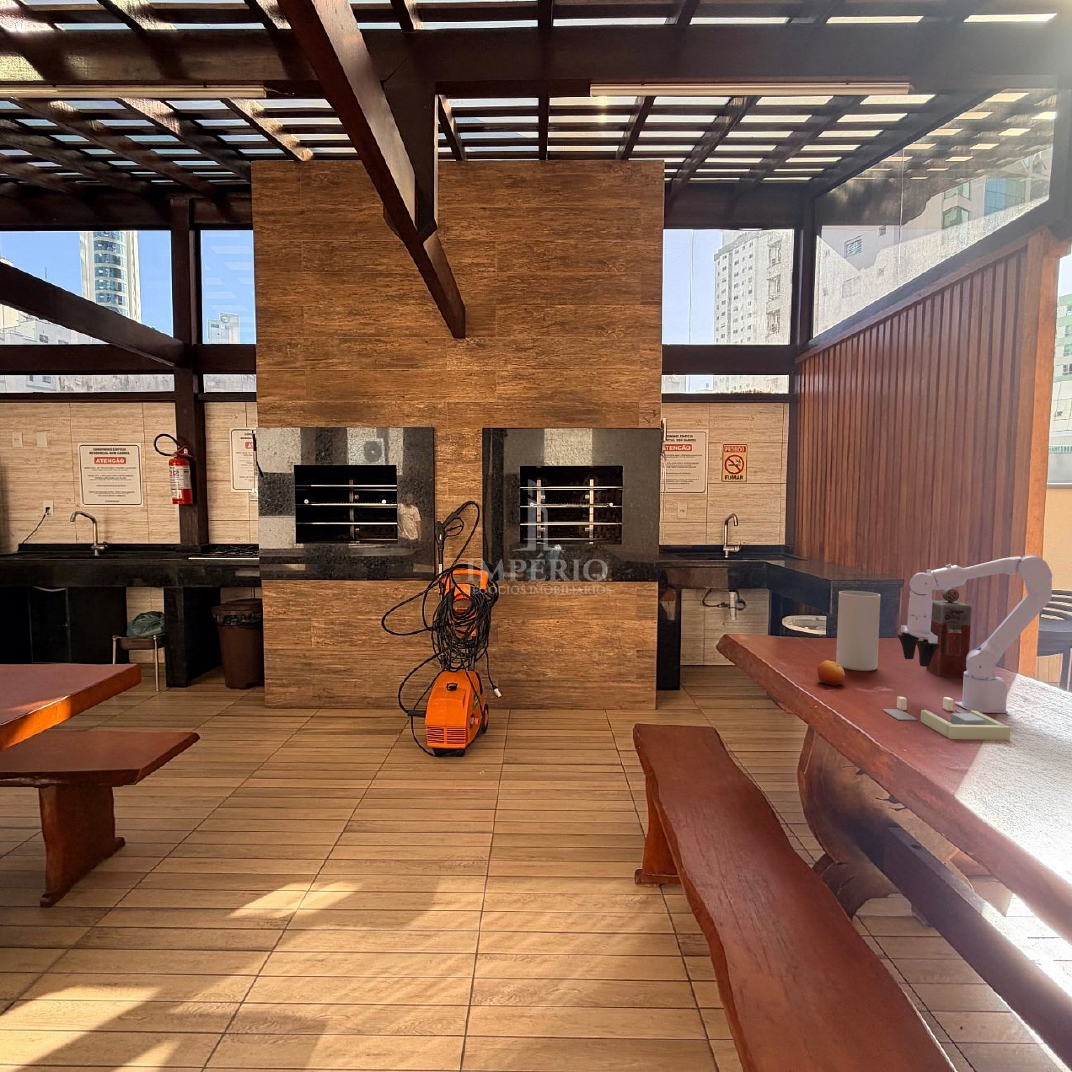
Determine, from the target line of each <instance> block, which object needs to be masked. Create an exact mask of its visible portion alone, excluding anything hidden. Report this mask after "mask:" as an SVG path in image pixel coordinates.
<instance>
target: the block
mask: <svg viewBox="0 0 1072 1072" xmlns="http://www.w3.org/2000/svg"><path fill="white" fill-rule="evenodd" d="M985 722H986V720H984V719H982V718H980V717H978V716H975V715H973V714H971V713H958V712H956V713H950V723H951V724H953V725H985Z"/></svg>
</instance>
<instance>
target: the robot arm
mask: <svg viewBox="0 0 1072 1072" xmlns="http://www.w3.org/2000/svg"><path fill="white" fill-rule="evenodd" d="M1017 573H1018V574H1019V577H1021V579H1022V580H1023V581H1024V585H1025V589H1026V595H1025V596H1024V597H1023V598H1022V599H1021V600H1020V602H1019V603H1018V604H1017V605H1016V606H1015V607H1014V608H1013V609H1012V610H1011V612H1010V613H1008V615H1007V616H1006V618H1005V619H1004V620H1002V622H1001V623H1000V624H999V625H998V627H997V628H995V630H994V631H993V632H992V633H991V634H990V636H989V637H988V638H987V639H985V640H984V641H983V643H981V644H980V646H978V647H977V648H975V649H972V650H969V653H968V655H967V657H966V661H967V663H966V668H967V671H965V672H964V677H962V678H963V679H962V680H963V681H962V682H963V683H962V699H961V701H954V704H955V705H957V706H959V707H961V708H962V709H964V710H970V711H978V712H980V713H982V714H987V713H990V714H991V713H993V714H996V713H997V714H1008V712H1009V711H1008V710H1007V698H1008V697H1007V693H1008V688H1007V684H1006V682H1005V680H1004V679H1003V678H1002V677H1000V676H996V674H994V673H995V670H996V665H997V664H998V662H999V661H1000V660H1001V658H1002V657H1003V655H1004V653H1005V652H1006V650H1008V648H1009V647H1010V646H1011V645H1012V644H1013V643H1014V641H1016V640H1017V638H1018V637H1019V636H1020V635H1021V634H1022V632H1023V631H1024V630H1025V629H1027V627H1028V626H1029V625H1030V624H1031V622H1033V621H1034V619H1035V618H1036V617H1037V616H1038V615H1039V614H1040V613H1041V612H1042V611H1043V609H1044V608H1045V607H1046V606H1047V605H1048V603H1050V602H1051V600H1052V597H1053V593H1052V592H1053V585H1052V584H1053V581H1052V580H1053V573H1052V570H1051V569H1050V566H1049V564H1048V562H1046V560H1044V559H1043V558H1042V557H1040V556H1038V555H1037V554H1026V555H1023V556H1019V555H1018V556H1010V557H1004V558H1000V559H995V560H991V561H989V562H988V561H987V562H983V563H979V564H976V565H972V566H968V567H961V566H960V565H957V564H955V565H952V563H949V564H946V565H945V567H942V568H937V569H932V570H931V569H926V572H917V573H915V574H914V575H913V576H912V577H910V580H909V588H910V591H909V598H908V610H907V623H906V624H907V625H905V624H904V625H901V624H900V632H901V633H897V638H898V640H899V642H900V644H901V647H902V652H903V657H904V659H905V660H914V657H915V653H916V647H917V649H918V657H919V659H918V660H919V666H920V667H925V668H926V667H929V664H930V662H931V659H932V657H933V655H934V653H935V651H936V650H937V648H938V647H939V646H940V644H939V643H937V640H938V636H935V635H934V634H933V633H932V632H930V630H931V617H932V602H933V601H932V600H933V598H932V597H933V590H936V591H942V590H943V591H944V590H945V589H948V588H952V589H953V588H956V587H962V586H964V585H965V584H966V582H967V580H972V579H977V578H981V577H982V578H983V577H987V576H993V575H998V574H1005V575H1009V576H1013V577H1016V574H1017ZM919 639H921V640H919Z"/></svg>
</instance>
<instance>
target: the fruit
mask: <svg viewBox="0 0 1072 1072" xmlns="http://www.w3.org/2000/svg"><path fill="white" fill-rule="evenodd" d="M816 669H817V670H816V671H817V677H818V681H817V684H818V683H824V684H826V685H829V686H833V687H836V686H839V685H840V684H842V683H843V682H844V681H845V679H846V673H845V670H844V669H845V668H843V667H841V666H840V665H839V664H837V663H836V661H831V660H827V659H825V660H824V661H822V662H820V663H819V665H818V667H817V668H816Z"/></svg>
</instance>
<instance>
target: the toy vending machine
mask: <svg viewBox="0 0 1072 1072" xmlns="http://www.w3.org/2000/svg"><path fill="white" fill-rule="evenodd" d="M941 593H942V594H941V597H942V599H944V600H933V599H932V601H933V602H932V617H931V630H930V632H932V633H933V634H934V635H935V636H938V640H937V643H939V644H940V646H939V647H938V648H937V650H936V651H935V653H934V655H933V657H932V659H931V662H930V664H929V667H925V668H926V670H927V671H929V672H930V673H932V674H934V675H936V676H937V677H944V678H945V677H949V678H950V677H951V678H963V677H964V672H965V671H967V668H966V663H967V661H966V657H967V655H968V653H969V652H970V647H971V646H970V644H971V627H972V624H971V623H972V606H971V605H969V604H967V603H965V602H960V601H958V599H959V598H960V593H959V591H958V590H957V589H955V588H953V587H952V588H948V589H943V591H942V592H941Z"/></svg>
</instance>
